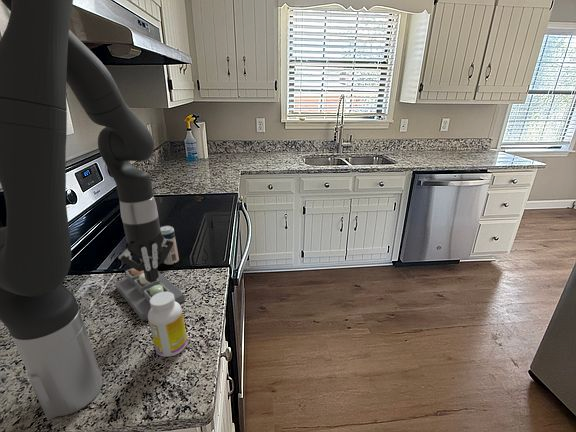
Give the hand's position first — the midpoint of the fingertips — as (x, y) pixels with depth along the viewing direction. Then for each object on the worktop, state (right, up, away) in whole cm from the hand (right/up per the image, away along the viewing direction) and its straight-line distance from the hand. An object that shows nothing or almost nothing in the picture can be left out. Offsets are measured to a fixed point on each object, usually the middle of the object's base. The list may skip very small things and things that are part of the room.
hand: (152, 280), depth 78 cm
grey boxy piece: (-4, -5, +7) cm, 10 cm away
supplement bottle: (+8, -13, -10) cm, 18 cm away
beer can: (-4, +1, +23) cm, 24 cm away
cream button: (-4, -2, +6) cm, 8 cm away
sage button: (0, -5, +2) cm, 5 cm away
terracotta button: (-9, -1, +11) cm, 14 cm away
